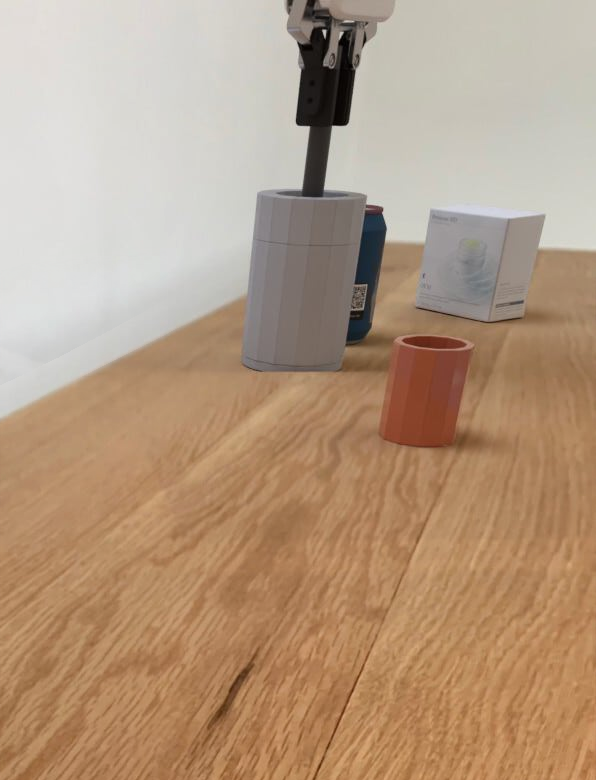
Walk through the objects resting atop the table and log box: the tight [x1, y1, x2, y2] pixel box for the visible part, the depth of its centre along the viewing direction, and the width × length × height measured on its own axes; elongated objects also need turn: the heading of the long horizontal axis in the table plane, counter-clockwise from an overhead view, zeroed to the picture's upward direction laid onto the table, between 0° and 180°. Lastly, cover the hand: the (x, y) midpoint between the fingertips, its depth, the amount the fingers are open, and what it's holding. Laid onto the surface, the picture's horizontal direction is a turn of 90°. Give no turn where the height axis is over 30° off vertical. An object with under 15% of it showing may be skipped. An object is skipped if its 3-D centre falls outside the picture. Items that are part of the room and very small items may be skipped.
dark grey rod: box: [301, 46, 343, 197], centre depth 93 cm, size 3×3×18 cm
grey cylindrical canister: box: [241, 188, 368, 373], centre depth 97 cm, size 9×9×14 cm
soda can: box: [345, 203, 388, 345], centre depth 108 cm, size 7×7×12 cm
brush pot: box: [378, 334, 476, 448], centre depth 78 cm, size 5×5×7 cm
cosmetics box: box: [414, 203, 547, 323], centre depth 121 cm, size 10×6×10 cm, turn 33°
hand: (322, 124), depth 91 cm, fingers closed on dark grey rod
